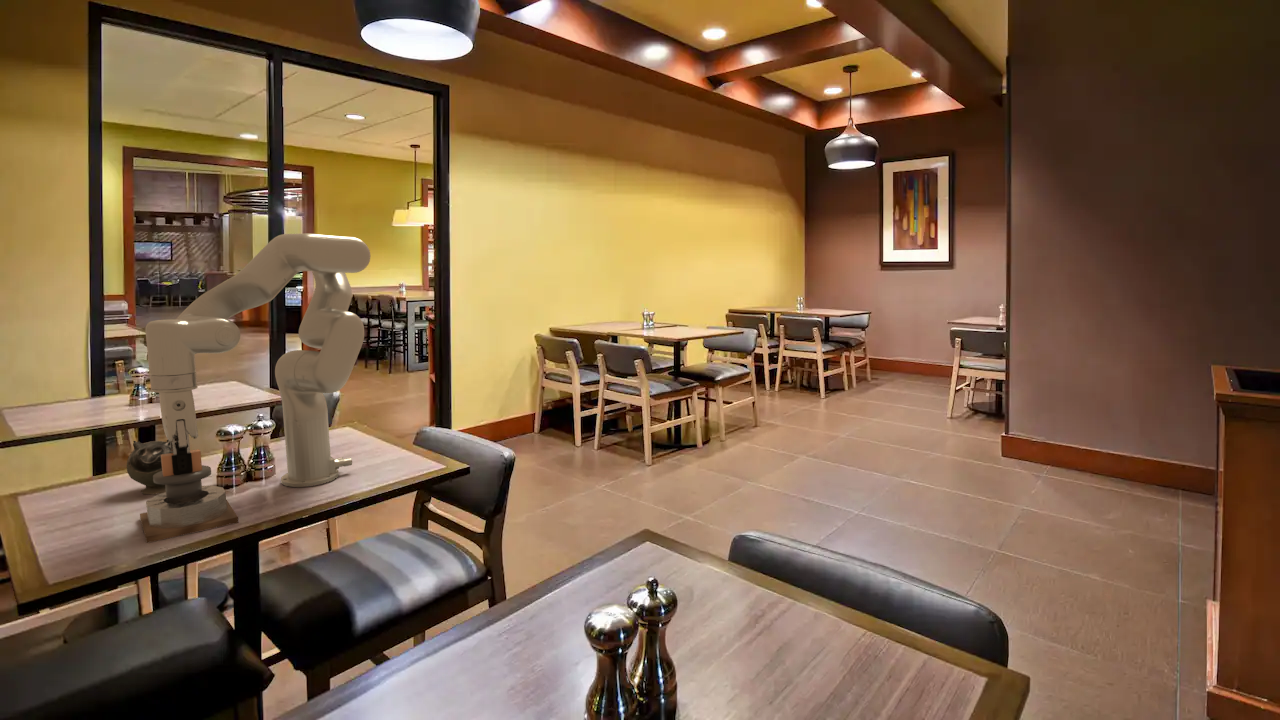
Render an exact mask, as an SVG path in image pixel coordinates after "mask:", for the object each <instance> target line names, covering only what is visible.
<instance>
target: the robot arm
mask: <svg viewBox="0 0 1280 720" xmlns="http://www.w3.org/2000/svg"><path fill="white" fill-rule="evenodd" d="M370 251H371V250H370V247H369V246H368V245H367V244H366V243H365V242H364V241H363V240H362V239H360V238H357V237H355V236H344V235H343V236H341V235H340V236H339V235H329V234H328V235H327V234H320V233H319V234H318V233H307V232H306V233H284V234H283V233H282V234H279V235H277V236H275V237H273V238H272V239H271V240H269V242H268V243H267V244H266V245H264V247H263V248H262V249H261V250H260V251H259V252H258V253H257V254H255V256H254V257H253V258H252V259H251V260H250V261H249V262H248V263H247V264H246V265H245V266H244V267H243V268H242V269H241V270H240V271H238V272H237V273H236V274H235V275H233V276H231V277H229V278H228V279H225V280H224V281H222V282H221V283H219V284H217V285H216V286H214V287H213V288H211V289H209V290H207V291H206V292H204V293H203V294H201V295H200V296H198V297H197V298H196V299H194V300H193V302H191V303H190V304H189V305H188V306H187V307H186V308H185V309H183V311H182V312H181V313H180V314H179V315H178V316H177V317H176V318H175V319H173V318H172V319H156V320H151V321H148V322H147V324H146V326H145V339H146V349H147V350H146V351H147V361H148V372H149V381H150V392H152V393H158V396H159V407H160V416H161V421H162V429H163V430H164V435H165V436H166V438H167V440H169V441H170V447H171V453H173V455H171V456H172V466H173V474H174V475H180V474H187V473H192V472H193V467H192V456H191V453H190V450H191V447H190V446H191V445H190V444H191V443H190V437H191V438H193V439H194V440H196V439H198V437H199V431H198V424H197V416H196V407H195V399H194V395H193V391H194V390H196V389H198V378H197V367H196V366H197V365H196V354H216V355H217V354H224V353H227V352H229V351H232V350H233V349H234V348H236V347H237V345H238V344H239V343H240V340H241V331H240V328H239V327H238V325H236V323H235V322H234V321H232V320H230V318H231V317H233V316H235V315H237V314H240V313H242V312H244V311H247V310H251V309H254V308H257V307H261V306H263V305H265V304H267V303H270V302H272V300H274V299H275V297H276V296H278V294H279V293H280V292H281V291H282V290H283V289H284V288H285V287H286V286H287V284H289V282H290V281H292V279H294V277H295V276H296V275H297V274H298V273H300V272H312V275H313V278H314V283H315V287H314V291H313V295H312V297H311V299H310V302H309V304H308V306H307V309H306V311H305V313H304V315H303V318H302V320H301V323H300V325H299V328H298V337H299V341H300V342H301V343H302V344H304V345H305V346H307V347H310V348H314V349H320V351H316V350H303V349H298V350H297V349H296V350H290V351H288V352H286V353H284V354H282V355H281V356H280V357H279V358H278V360H277V362H276V364H275V366H274V367H275V369H274V375H275V381H276V384H277V388H278V390H279V394H280V398H281V405H282V407H281V408H282V414H283V416H282V417H283V428H284V429H283V430H284V432H283V433H284V442H285V454H286V465H287V466H286V468H287V473H285V474H283V475H282V476H281V477H280V482H281V484H282V485H284V486H286V487H290V488H304V487H307V488H308V487H313V485H314V486H319V485H323V483H324V484H327V483H330V482H331V481H335V480H336V479H337V478H338V477H339V476H340V472H339V469H340V467H341V468H342V467H349V466H352V465H353V460H352V457H346V458H344V457H338V458H334V457H332V456H331V443H330V442H331V440H330V429H329V427H330V426H329V414H328V413H329V412H328V406H327V405H328V404H327V400H326V397H325V395H324V394H334V393H337V392H338V391H340V390H342V388H344V386H345V385H346V384H347V382H348V381H349V378H350V376H351V374H352V371H353V369H354V366H355V364H356V362H357V360H358V356H359V354H360V352H361V349H362V346H363V344H364V340H365V325H364V323H363V321H362V318H361V317H360V316H358V315H357V314H356V313H354V312H351V311H349V308H350V305H351V302H352V297H353V291H352V287H351V284H350V281H349V279H348V277H347V274H356V273H360V272H362V271H364V270H365V269H366V268H367V267H368V266H369V264H370V262H371V252H370ZM346 273H347V274H346ZM335 478H336V479H335ZM329 481H330V482H329ZM326 482H327V483H326Z"/></svg>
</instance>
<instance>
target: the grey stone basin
mask: <svg viewBox="0 0 1280 720" xmlns="http://www.w3.org/2000/svg"><path fill="white" fill-rule="evenodd" d="M226 499H227V493H226V490H225V489H224V487H223V486H216V485H210V484H209V485H202V492H201V493H200V494H198V495H195V496H192V497H187V498H180V499H170V498H167V497H166V492H165V493H159V494H155V495H154V496H153V497H151V498H150V499H149V500H147V501H146V502H145V506H146V512H147V515H148V521H149V525H150V526H151V527H156V528H162V529H165V528H180V527H186V526H191V525H196V524H200V523H204V522H207V521H209V520H212V519H215V518H217V517H220V516H221V515H222V514H223V513H224V512H226V511H227V501H228V500H227V501H226Z"/></svg>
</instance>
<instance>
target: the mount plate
mask: <svg viewBox="0 0 1280 720" xmlns="http://www.w3.org/2000/svg"><path fill="white" fill-rule="evenodd" d="M226 501H227V511H226V512H224V513H223V514H222V515H221V516H220V517H217V518H215V519H212V520H209V521H207V522H204V523H200V524H196V525H191V526H186V527H180V528H165V529H162V528H156V527H151V526H150V525H149V521H148V515H147V511H146V512H143V513H139V520H140V522H141V526H142V530H143V533H144V538H145V542H146V544H148V543H153V542H157V541H162V540H166V539H171V538H175V537H179V536H180V537H181V536H184V535H189V534H194V533H197V532H202V531H207V530H211V529H215V528H216V527H217V528H221V527H225V526H229V525H234V524H239V516H238V514H237V513H236V511H235V510H234V508H233V507H232V506H231V504H230V503H229V500H228V499H227V498H226ZM217 528H216V529H217Z"/></svg>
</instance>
